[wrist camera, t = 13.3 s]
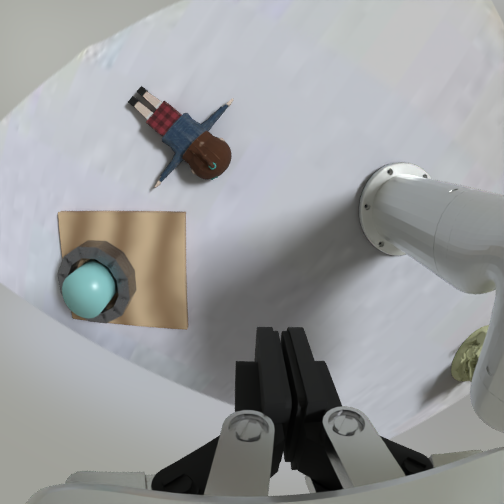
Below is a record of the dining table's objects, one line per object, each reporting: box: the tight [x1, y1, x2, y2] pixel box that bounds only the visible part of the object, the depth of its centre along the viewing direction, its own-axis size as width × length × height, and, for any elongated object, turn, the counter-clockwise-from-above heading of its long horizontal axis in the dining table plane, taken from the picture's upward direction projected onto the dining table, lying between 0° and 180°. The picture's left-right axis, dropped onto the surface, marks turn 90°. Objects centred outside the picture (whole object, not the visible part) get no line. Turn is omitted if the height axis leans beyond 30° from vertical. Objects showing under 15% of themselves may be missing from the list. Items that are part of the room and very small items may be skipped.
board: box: [58, 211, 188, 330], centre depth 40 cm, size 18×16×1 cm
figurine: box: [451, 325, 489, 382], centre depth 41 cm, size 14×13×15 cm
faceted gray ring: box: [58, 240, 137, 323], centre depth 38 cm, size 10×10×3 cm
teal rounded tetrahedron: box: [62, 259, 118, 318], centre depth 37 cm, size 6×6×6 cm
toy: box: [128, 86, 233, 188], centre depth 34 cm, size 14×5×15 cm
